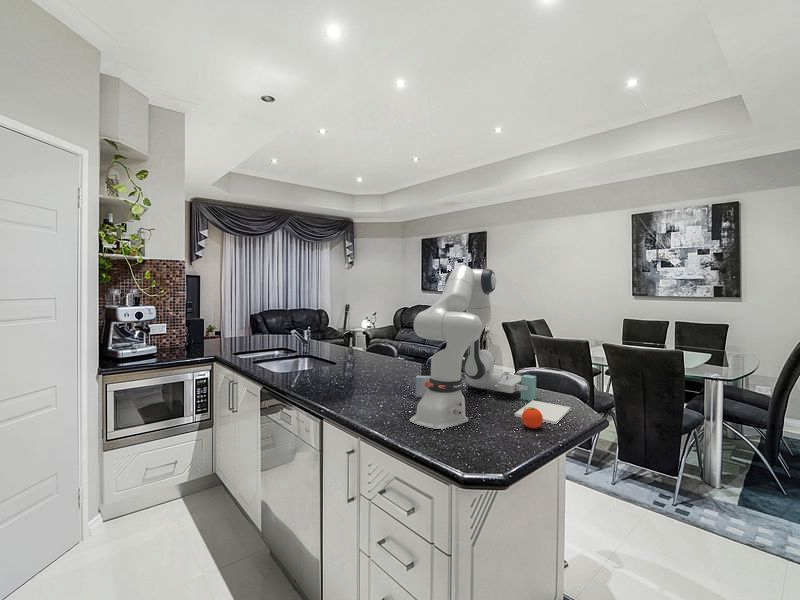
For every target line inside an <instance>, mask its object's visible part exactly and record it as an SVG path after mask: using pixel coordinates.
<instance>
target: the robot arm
mask: <svg viewBox="0 0 800 600" xmlns="http://www.w3.org/2000/svg"><path fill="white" fill-rule="evenodd" d="M444 284H445V285H444V287H443V288H444V289H443V290H442V294H441V295H440V297H439V298H438V300H437V301H436V302H435V303H434V304H432V305H431V306H430V307H428V308H427V309H425V310H422V311H420V312H418V314H416V316H415V317H414V319H413V330H414V332H415V334H416V335H417V336H418V338H419V337H420V338H422V339H425V340H429V341H430V340H431V341H440V342H441V341H442V342H446V346H445V347H444V349H443V348H442V349H441V350H438V351H437V352H435V353H434V354H433V355H432V357H431V360H430V361H431V362H430V376H431V377H430V379H429V382H428V381H425V383H424V386H425V387H428V390H427V392H426V393H425V394H424V396H423V397H421V399H420V400H419V402H418V403H417V405H416V413H415V415H413V416H411V418H409V420H408V421H410V422H412V423H414V424H417V425H420V426H424V427H428V428H433V429H441V430H440V431H444V430H443V429H445V430H447V429H446V428H448V429H450V428H449V427H451V428H453V426H454V427H456V426H459V425H462V424H464V423H467V422H469V418H468V416H466V403H465V402H466V400H465V396H464V395H463V392H462V389H463V381H462V380H463V379H462V371H463V373H464V374H465V377H464V378H465V381H466V383H467V384H468V385H469V386H471V387H474V388H477V389H482V390H483V389H484V390H485V389H487V390H491V391H494V392H499V393H503V392H504V393H507V394H513V393H515V392H516V391H521V390H528V389H529V386H526V385H521V376H522V375H519V374H513V373H511V372H508V371H495V370H494V368H495V361H496V360H495V357H494V354H493V353H492V352H491V351H490V350H488V349H485V348H484V349H483V348H482V349H481V347H480V346H481V343H480V341H481V335H482V333H483V331H484V329H485V327H486V326H487V325H488V324H489V323H490V320H491V315H492V310H491V309H492V307H491V300H490V295H491V293H492V292H493V291H494V290H495V289H496V286H497V277H496V274H495V272H494V271H493V270H492V269H490V268H483V269H482V268H471V267H470V266H468V265H463V264H460V265H457V266H455V267H454V268H453V269H452V270H451V271H449V272H448V273H447V274H446V275H445V279H444ZM463 358H464V359H463ZM410 422H409V423H410ZM412 423H411V424H412ZM414 424H413V425H414ZM417 425H416V426H417ZM420 426H419V427H420ZM428 428H427V429H428ZM433 429H432V430H433Z"/></svg>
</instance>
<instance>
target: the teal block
mask: <svg viewBox="0 0 800 600" xmlns="http://www.w3.org/2000/svg"><path fill="white" fill-rule="evenodd" d="M520 376H521V385H526V386H529V389H528V390H520V400H522V399H523V400H524V401H527V400H528V402H531V401H532V400H534V399H535V400H536V398H537V396H536V395H537V394H536V393H537V375H531V374H524V375H520ZM523 400H522V401H523ZM535 400H534V401H535Z"/></svg>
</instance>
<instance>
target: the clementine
mask: <svg viewBox="0 0 800 600" xmlns="http://www.w3.org/2000/svg"><path fill="white" fill-rule="evenodd" d="M526 408H527V409H526ZM526 408H524V412H523V413H522V418H521V421H522V423H523V424H524V425H525V426H526V427H527V428H529V429H538V428H539V427H540V426H542V424H543V423H544V422H543V416H542V414H541V412H540V411H539V410H538V409H536V408H533V407H526Z"/></svg>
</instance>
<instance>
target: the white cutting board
mask: <svg viewBox="0 0 800 600" xmlns="http://www.w3.org/2000/svg"><path fill="white" fill-rule="evenodd" d="M526 407H533V408H536V409H538V410H539V411H540V412H541V414H542V416H543V422H542V423H544V422H546V423H545V424H548V423H551V424H550V425H553V424H557V423H558V422H559V421H560V420H561V419H562V418H563V417H564V416H565V415H566V414H567V415H568V413H570V411H571V406H566V405H560V404H555V403H549V402H544V401H538V400H532V401H529V402H528V403H527V404H526V405H524V406H523V407H521V408H520V409H519V410H517V411H516V412H514V418H515V417H517V418H521V419H522V413H523V412H524V408H526ZM526 409H527V408H526ZM567 415H566V416H567ZM566 416H565V417H566ZM565 417H564V418H565ZM564 418H563V419H564ZM563 419H562V420H563ZM562 420H561V421H562ZM561 421H560V422H561ZM560 422H559V423H560ZM559 423H558V424H559ZM558 424H557V425H558Z"/></svg>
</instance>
